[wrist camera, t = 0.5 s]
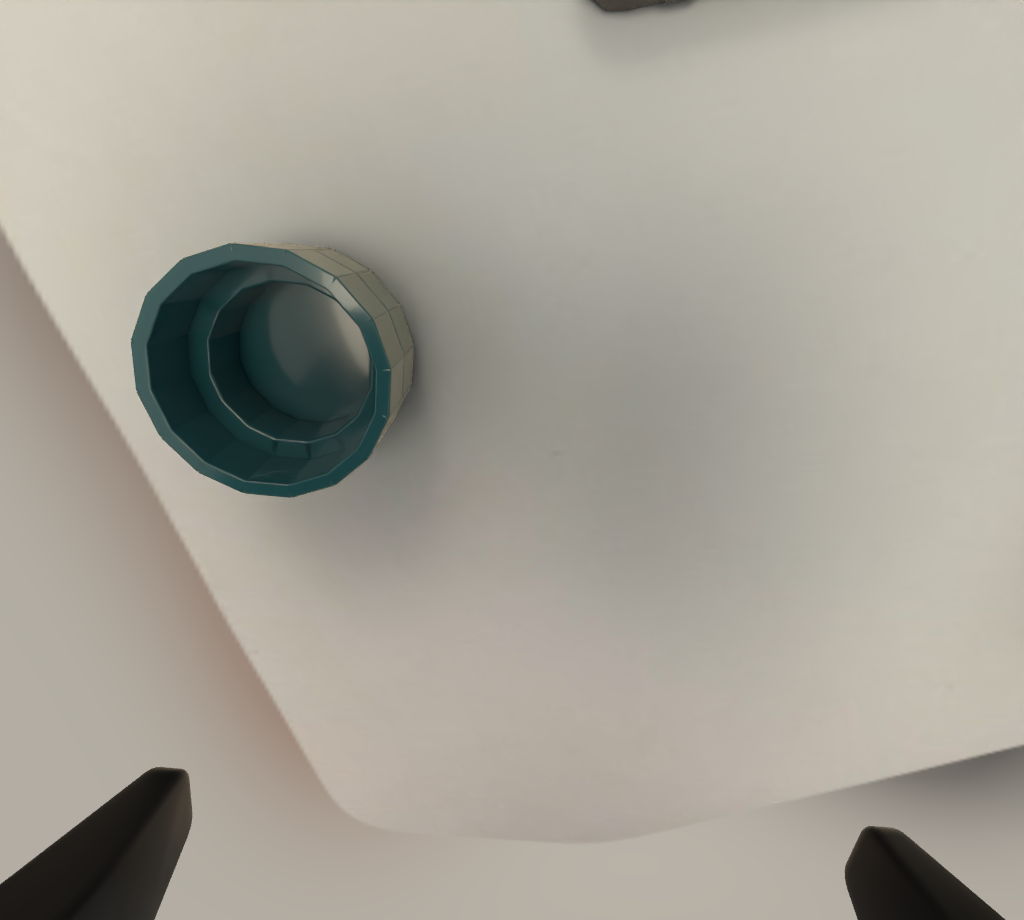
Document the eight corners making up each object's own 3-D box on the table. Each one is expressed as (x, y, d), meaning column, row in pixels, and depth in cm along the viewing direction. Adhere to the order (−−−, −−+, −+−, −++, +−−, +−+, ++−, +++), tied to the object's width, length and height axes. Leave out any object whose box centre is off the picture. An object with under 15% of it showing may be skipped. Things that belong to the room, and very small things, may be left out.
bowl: (410, 452, 20) (385, 507, 16) (222, 434, 20) (145, 484, 16) (421, 258, 18) (395, 262, 14) (210, 233, 18) (117, 229, 13)
